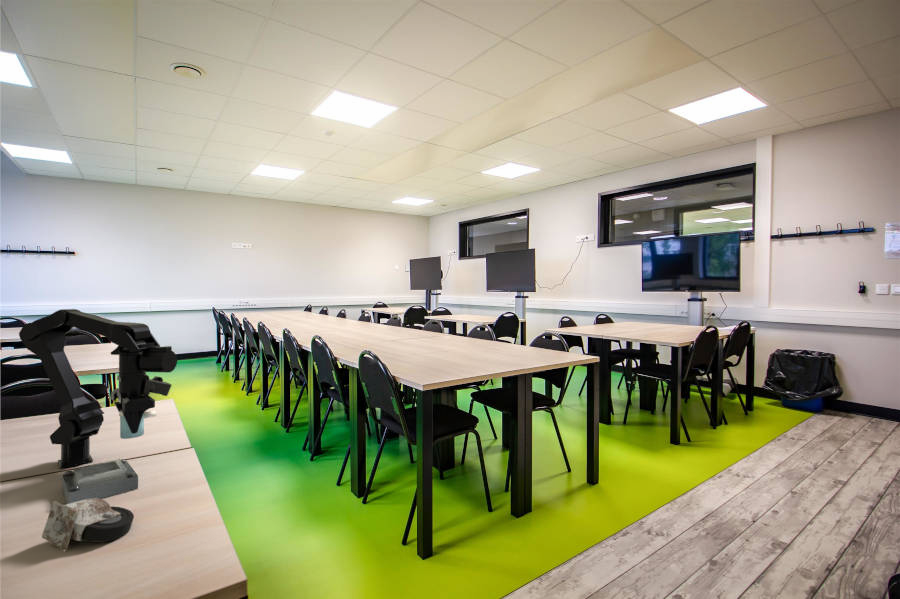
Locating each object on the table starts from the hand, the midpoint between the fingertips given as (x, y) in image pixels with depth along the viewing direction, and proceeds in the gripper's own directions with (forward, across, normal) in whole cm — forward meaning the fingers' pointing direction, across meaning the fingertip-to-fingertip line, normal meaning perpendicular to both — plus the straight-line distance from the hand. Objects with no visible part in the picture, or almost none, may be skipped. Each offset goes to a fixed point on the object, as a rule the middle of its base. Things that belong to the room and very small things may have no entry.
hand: (132, 430), depth 112 cm
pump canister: (+1, 0, -1) cm, 2 cm away
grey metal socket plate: (+9, -11, +8) cm, 17 cm away
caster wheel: (+9, -35, +12) cm, 38 cm away
